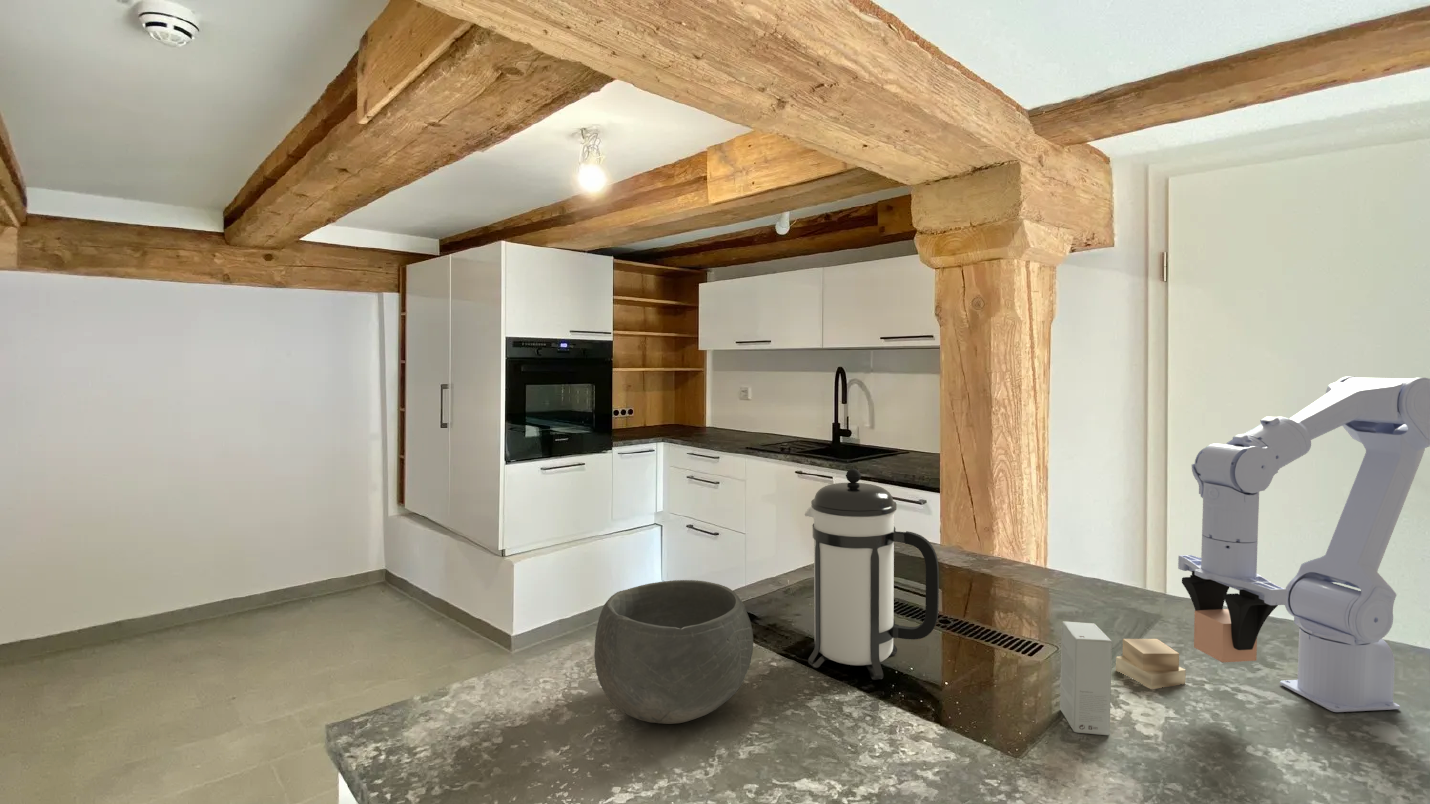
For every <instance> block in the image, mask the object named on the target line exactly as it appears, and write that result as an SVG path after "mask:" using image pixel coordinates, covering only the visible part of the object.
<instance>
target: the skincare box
mask: <svg viewBox="0 0 1430 804" xmlns="http://www.w3.org/2000/svg"><path fill="white" fill-rule="evenodd" d="M1060 643H1061V645H1060V646H1061V648H1060V649H1061V650H1060V651H1061V652H1060V689H1059V690H1060V691H1059V692H1060V695H1059V696H1060V697H1059V709H1060V712H1061V713H1062V715H1063V716H1064V717H1065V719H1066V720H1067V722H1068V725H1069V726H1070V727H1071V729H1072V732H1074V733H1078V734H1091V735H1102V736H1110V734H1111V700H1112V698H1111V696H1112V693H1111V692H1112V659H1113V658H1112V654H1113V653H1112V652H1113V651H1112V650H1113V649H1112V648H1113V644H1112V643H1113V641H1112V640H1111V639H1110V638H1109V636H1107V635H1106V633H1105V632H1104V631H1102V629H1100V627H1099V626H1097V625H1096V623H1093V622H1092V623H1091V622H1079V621H1078V622H1077V621H1066V620H1065V621H1064V620H1063V621H1062V622H1061V642H1060Z"/></svg>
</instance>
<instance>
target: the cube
mask: <svg viewBox="0 0 1430 804" xmlns="http://www.w3.org/2000/svg"><path fill="white" fill-rule="evenodd" d="M1193 619H1194V625H1193V626H1194V631H1193V648H1194V649H1196V650H1197V651H1200V652H1202V653H1204V654H1206V655H1208V656H1210V657H1211V658H1213V659H1216V660H1217V661H1219V663H1220V662H1221V663H1235V662H1237V663H1238V662H1253V661H1254V662H1255V661H1256V662H1257V658H1258V657H1257V654H1258V652H1257V651H1258V637H1257V638H1256V641H1255V644H1254V647H1253V649H1252V650H1237V649H1235V648H1234V646H1233V642H1232V633H1231V619H1230V614H1229V610H1228V608H1223V609H1217V610H1197V611H1195V610H1194V618H1193Z"/></svg>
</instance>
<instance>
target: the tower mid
mask: <svg viewBox="0 0 1430 804" xmlns="http://www.w3.org/2000/svg"><path fill="white" fill-rule="evenodd" d="M1122 656H1124V657H1126V658H1127V659H1128V660H1129V661H1131V662H1132V663H1133V664H1135V665H1136V666H1137V667H1139V668H1140V669H1141V670H1143V671H1179V667H1180V653H1179V652H1178V651H1176V650H1174V649H1173V648H1171V647H1170V646H1169V645H1168V644H1166V643H1164V642H1162V641H1161V640H1160V639H1158V638H1123V639H1122Z"/></svg>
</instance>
